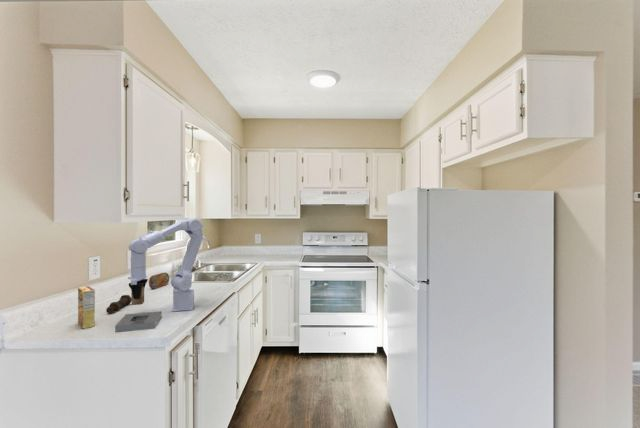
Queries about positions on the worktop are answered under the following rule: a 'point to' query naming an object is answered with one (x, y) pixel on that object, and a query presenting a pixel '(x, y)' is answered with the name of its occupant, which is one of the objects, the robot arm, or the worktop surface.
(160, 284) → the brown oval slab
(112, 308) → the dark brown dumbbell shape
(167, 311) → the worktop surface
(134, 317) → the socket plate
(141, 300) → the block
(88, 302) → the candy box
